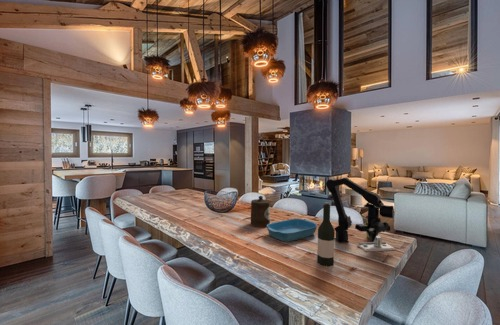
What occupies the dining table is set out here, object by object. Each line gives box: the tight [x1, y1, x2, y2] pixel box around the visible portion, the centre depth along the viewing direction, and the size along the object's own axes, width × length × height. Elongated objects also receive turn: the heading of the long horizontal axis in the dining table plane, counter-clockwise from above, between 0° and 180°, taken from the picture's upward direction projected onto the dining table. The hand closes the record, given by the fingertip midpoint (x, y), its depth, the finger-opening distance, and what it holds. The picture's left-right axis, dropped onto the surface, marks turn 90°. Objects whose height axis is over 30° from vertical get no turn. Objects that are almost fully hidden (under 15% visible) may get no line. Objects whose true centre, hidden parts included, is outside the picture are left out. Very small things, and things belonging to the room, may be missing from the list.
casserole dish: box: [266, 218, 318, 242], centre depth 158 cm, size 37×22×7 cm, turn 124°
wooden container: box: [250, 195, 271, 228], centre depth 180 cm, size 15×15×22 cm
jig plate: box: [356, 241, 396, 252], centre depth 137 cm, size 18×8×2 cm, turn 98°
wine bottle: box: [316, 202, 336, 268], centre depth 116 cm, size 8×8×30 cm
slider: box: [373, 235, 383, 246], centre depth 136 cm, size 3×4×5 cm
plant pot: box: [363, 222, 379, 239], centre depth 154 cm, size 9×9×9 cm
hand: (372, 242), depth 136 cm, fingers closed
